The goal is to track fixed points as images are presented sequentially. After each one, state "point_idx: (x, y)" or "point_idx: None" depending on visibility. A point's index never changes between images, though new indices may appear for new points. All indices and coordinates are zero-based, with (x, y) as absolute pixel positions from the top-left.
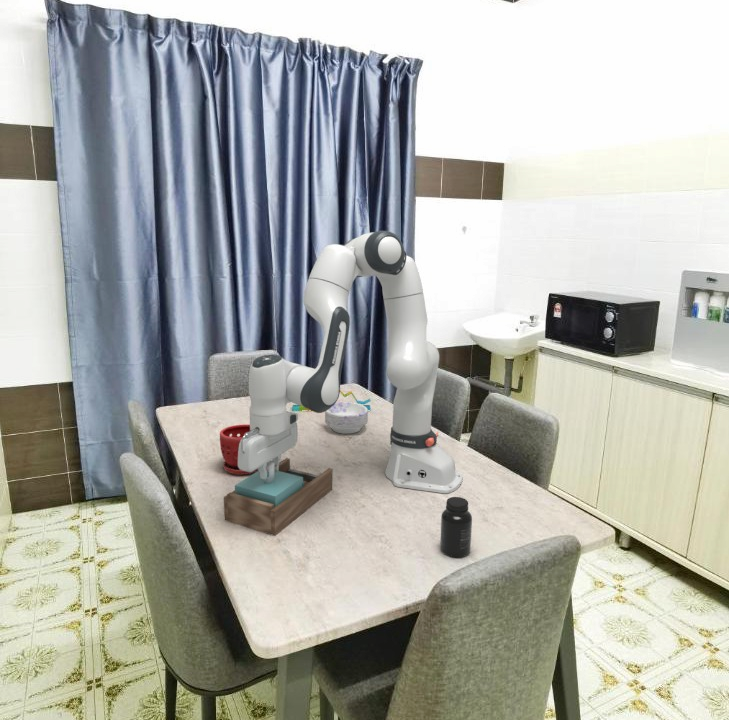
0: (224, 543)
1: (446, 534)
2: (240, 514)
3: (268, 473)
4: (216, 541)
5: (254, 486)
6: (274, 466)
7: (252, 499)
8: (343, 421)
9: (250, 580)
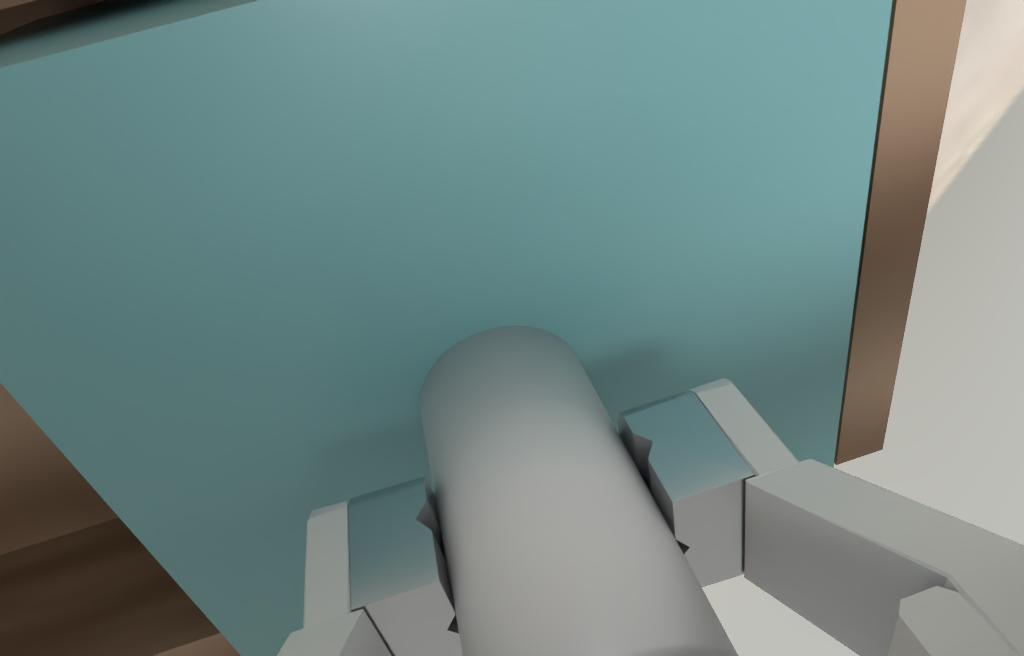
0: (990, 56)
1: None
2: None
3: (673, 455)
4: (981, 126)
5: (750, 384)
6: (428, 604)
7: (894, 191)
8: None
9: None
